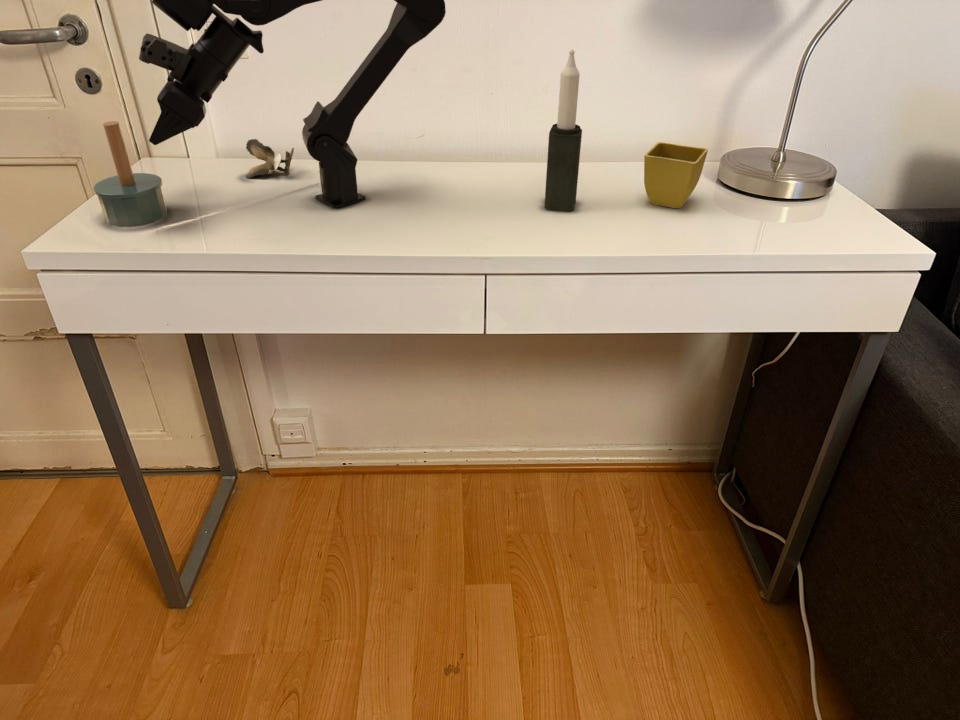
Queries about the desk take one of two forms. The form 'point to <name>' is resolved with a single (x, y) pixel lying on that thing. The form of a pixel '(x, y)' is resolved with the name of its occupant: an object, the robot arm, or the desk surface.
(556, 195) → the candle
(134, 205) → the pot
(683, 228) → the desk surface
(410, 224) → the desk surface
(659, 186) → the flower pot
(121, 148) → the lid
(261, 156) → the eagle figurine
